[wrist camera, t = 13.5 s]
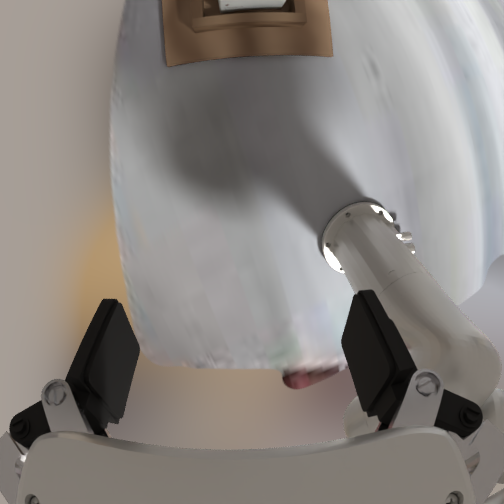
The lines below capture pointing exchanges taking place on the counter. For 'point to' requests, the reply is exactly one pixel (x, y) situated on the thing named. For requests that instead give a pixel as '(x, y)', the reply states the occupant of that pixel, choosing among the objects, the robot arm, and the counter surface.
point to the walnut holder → (244, 31)
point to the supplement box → (248, 5)
